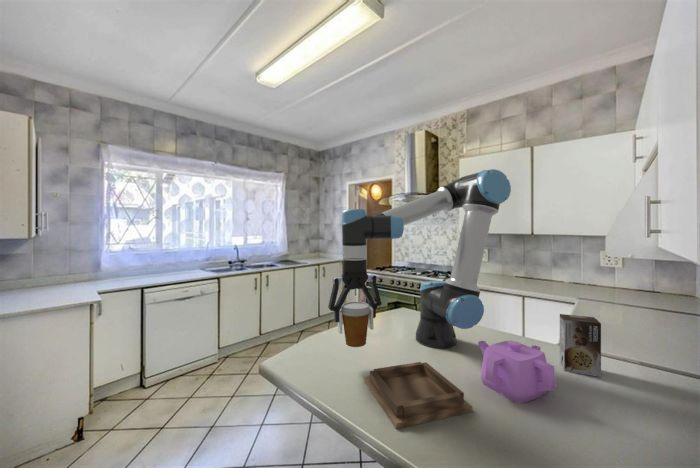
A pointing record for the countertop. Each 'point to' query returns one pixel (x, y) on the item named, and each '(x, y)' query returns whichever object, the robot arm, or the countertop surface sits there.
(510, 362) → the teakettle
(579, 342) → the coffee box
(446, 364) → the countertop surface
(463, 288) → the robot arm
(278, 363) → the countertop surface
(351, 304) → the disposable coffee cup
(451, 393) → the cup caddy
